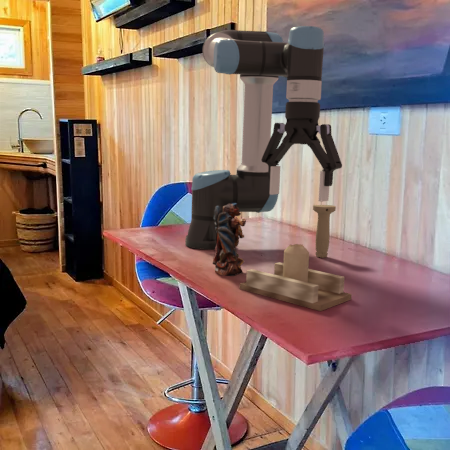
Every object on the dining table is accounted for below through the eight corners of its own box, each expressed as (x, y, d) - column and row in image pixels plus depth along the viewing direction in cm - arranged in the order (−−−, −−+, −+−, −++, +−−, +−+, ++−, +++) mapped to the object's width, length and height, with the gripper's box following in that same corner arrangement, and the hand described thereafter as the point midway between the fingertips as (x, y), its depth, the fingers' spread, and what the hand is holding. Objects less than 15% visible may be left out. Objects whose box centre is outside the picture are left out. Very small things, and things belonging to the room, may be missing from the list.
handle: (334, 258, 163) (338, 207, 160) (313, 258, 162) (316, 207, 159) (329, 255, 167) (332, 204, 165) (308, 255, 166) (311, 204, 164)
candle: (301, 293, 122) (303, 248, 121) (278, 289, 125) (280, 245, 123) (310, 288, 127) (313, 244, 125) (288, 284, 130) (290, 241, 128)
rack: (239, 288, 129) (240, 268, 129) (271, 279, 138) (272, 260, 137) (320, 311, 115) (321, 288, 114) (351, 299, 123) (352, 278, 123)
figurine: (258, 269, 147) (256, 200, 144) (246, 278, 138) (244, 205, 136) (220, 267, 151) (217, 200, 148) (206, 275, 143) (203, 204, 140)
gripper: (248, 100, 129) (245, 192, 133) (343, 100, 112) (336, 205, 116) (269, 102, 135) (265, 190, 138) (362, 101, 118) (355, 202, 122)
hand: (298, 197), depth 127 cm, fingers open, 13 cm apart
